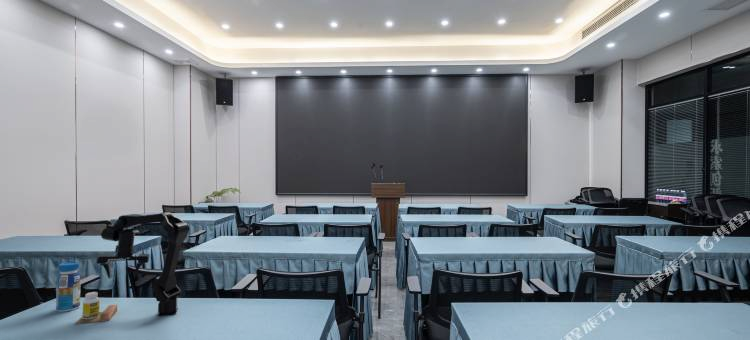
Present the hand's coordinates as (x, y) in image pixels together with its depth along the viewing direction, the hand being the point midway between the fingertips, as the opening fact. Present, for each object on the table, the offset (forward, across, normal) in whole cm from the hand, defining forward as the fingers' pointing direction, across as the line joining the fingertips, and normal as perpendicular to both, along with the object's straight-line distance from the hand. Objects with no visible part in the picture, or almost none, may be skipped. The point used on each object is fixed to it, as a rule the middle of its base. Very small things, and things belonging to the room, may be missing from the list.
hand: (122, 277), depth 160 cm
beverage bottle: (+16, +20, -9) cm, 27 cm away
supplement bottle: (+14, +8, +8) cm, 18 cm away
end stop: (+14, +6, +8) cm, 17 cm away
